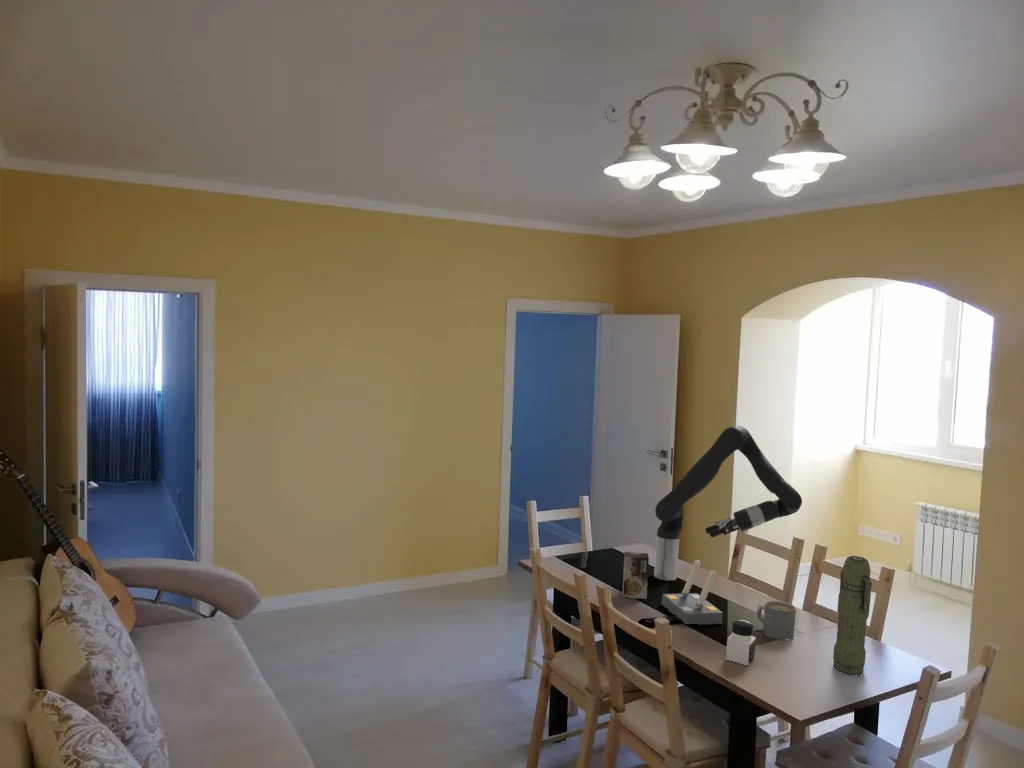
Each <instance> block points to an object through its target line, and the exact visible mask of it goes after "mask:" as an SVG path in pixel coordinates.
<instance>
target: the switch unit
mask: <svg viewBox="0 0 1024 768" xmlns="http://www.w3.org/2000/svg"><path fill="white" fill-rule="evenodd" d="M700 595H701V594H699V593H697V592H695V593H693V592H692V593H690V592H689V593H688V597H687V598H685V597H684V596H682V595H681V593H663V594H662V596H661V597H662V598H661V605H662V606H663V607H664V608H665V609H666V608H667V609H668V610H667V609H666V610H667V611H669V612H670V613H671V614H672V615H673V614H674V615H676V616H678V617H679V618H681V620H682V621H683V622H684V624H683V625H685V624H698V625H720V624H723V616H724V614H723V611H721V610H720V609H719V608H717V607H716V606H715V605H713V604H712V603H711V602H709V601H708V600H707V599H706V600H705V602H704V604H703V609H699V608H698V607H696V603H697V602H698V599H699V597H700ZM674 615H673V616H674Z"/></svg>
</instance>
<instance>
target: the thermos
mask: <svg viewBox="0 0 1024 768" xmlns="http://www.w3.org/2000/svg"><path fill="white" fill-rule="evenodd" d="M869 562H870V561H869V560H868V559H866V558H865V557H863V556H856V555H850V556H847V557H846V560H845V561H844V563H843V566H842V570H841V571H840V582H839V583H840V584H839V593H838V599H837V609H836V610H837V613H838V614H837V615H838V618H837V619H838V620H837V633H836V642H835V643H834V646H833V656H832V658H833V664H832V668H833V667H834V668H835V669H836V670H837V671H836V670H835V669H834V668H833V669H834V670H835V671H836V672H838V671H839V672H838V673H840V672H841V674H843V673H844V675H846V674H847V676H851V675H854V676H853V677H856V676H855V675H860V676H862V675H864V673H863V672H864V668H865V665H866V655H867V654H866V653H867V651H866V648H865V643H866V642H865V641H866V630H867V620H868V618H869V616H870V606H871V597H872V596H871V595H872V587H873V586H872V585H873V584H872V581H871V565H870V563H869ZM861 674H862V675H861Z"/></svg>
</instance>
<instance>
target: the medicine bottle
mask: <svg viewBox="0 0 1024 768" xmlns="http://www.w3.org/2000/svg"><path fill="white" fill-rule="evenodd" d="M731 629H732V630H731V634H730V635H729V636H728V637H727V638H726V639H727V640H726V653H725V654H726V655H725V660H726V661H727V660H729V661H728V662H731V661H733V662H732V663H734V662H737V663H736V664H738V663H740V664H739V665H742V664H744V665H743V666H745V665H748V666H747V667H749V666H750V665H751V664H750V663H753V661H754V660H755V657H756V655H755V654H756V645H757V638H756V636H753V632H754V631H753V629H754V625H753V624H752V623H751V622H749V621H748V620H744V619H737V620H734V621H733V622H732V627H731Z"/></svg>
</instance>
